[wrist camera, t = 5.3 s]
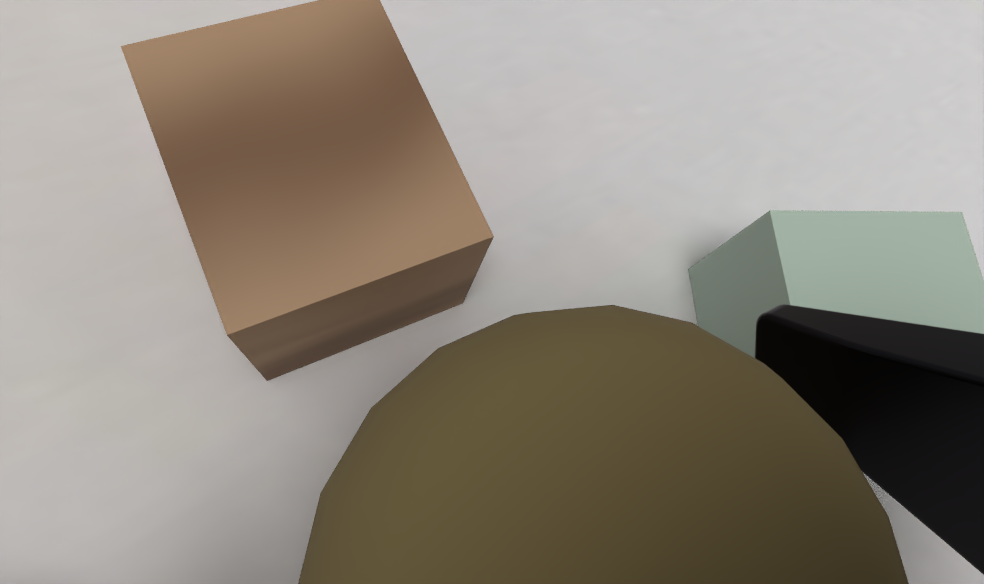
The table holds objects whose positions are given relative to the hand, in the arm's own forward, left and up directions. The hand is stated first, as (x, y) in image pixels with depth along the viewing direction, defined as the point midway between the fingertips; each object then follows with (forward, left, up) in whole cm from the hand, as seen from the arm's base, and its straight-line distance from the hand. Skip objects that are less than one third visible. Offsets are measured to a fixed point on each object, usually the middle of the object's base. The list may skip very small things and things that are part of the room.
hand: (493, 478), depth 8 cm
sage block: (-8, -6, -7) cm, 12 cm away
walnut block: (+5, -5, -7) cm, 10 cm away
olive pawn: (-1, +1, -7) cm, 7 cm away
